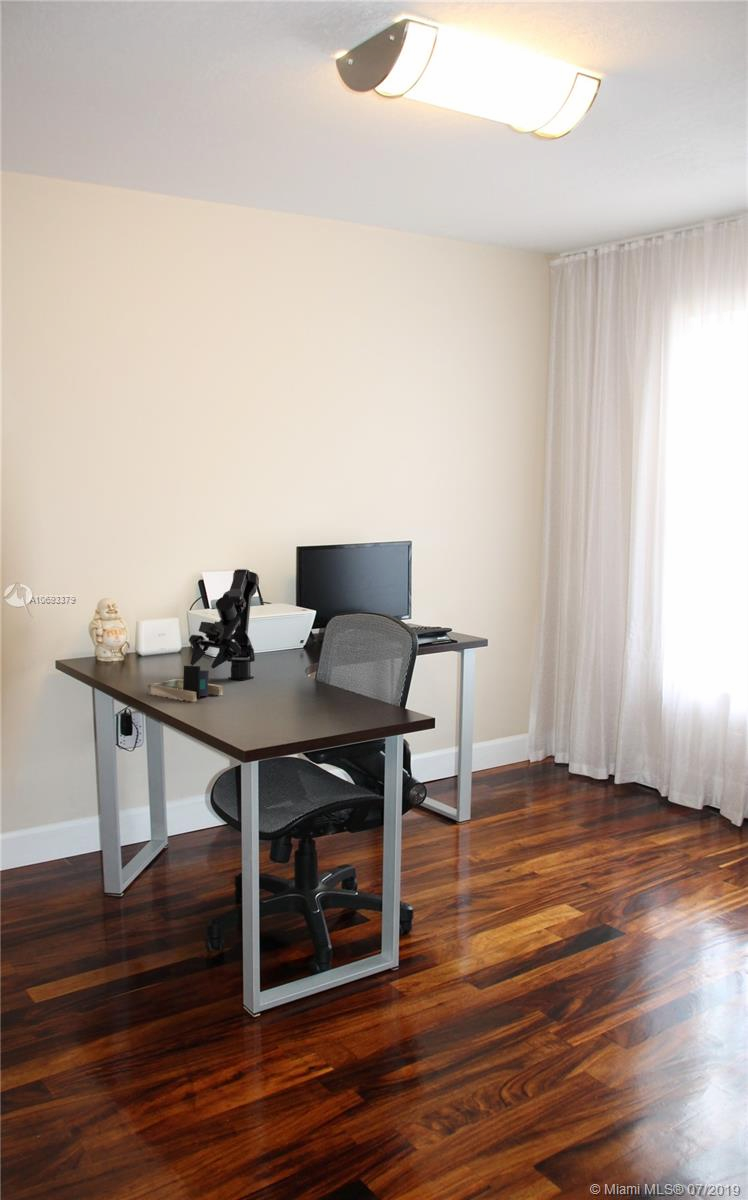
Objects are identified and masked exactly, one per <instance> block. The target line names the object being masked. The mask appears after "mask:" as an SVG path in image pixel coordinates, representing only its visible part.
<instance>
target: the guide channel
mask: <svg viewBox="0 0 748 1200" xmlns="http://www.w3.org/2000/svg"><path fill="white" fill-rule="evenodd" d="M146 688H147V695H150V694H152V695H151V696H155V695H157V697H161V696H162V698H166V697H168V698H167V699H172V698H173V699H174V700H177V699H179V701H183V700H186V701H185V702H188V701H191V702H190V703H195V702H194V701H196V702H197V699H196V692H193V691H188V690H182V689H183V678H182V679H181V678H174V679H170V680H165V681H160V682H156V683H155V682H154V683H150V684H147V687H146ZM177 688H178V689H177ZM223 688H224V687H223V685H219V684H212V683H208V695H211V694H213V696H216V695H218V696H217V697H221V696H223ZM220 695H221V696H220ZM173 699H172V700H173Z"/></svg>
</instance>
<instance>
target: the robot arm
mask: <svg viewBox="0 0 748 1200" xmlns="http://www.w3.org/2000/svg"><path fill="white" fill-rule="evenodd" d="M232 573H233V574H232V582H231V585H230V588H229V590H228V591H225V592H224V593H223V596H222V597H219V599H217V601H216V602H215V607H216V611H217V614H218V617H219V619H220V620H219V621H214V622H208V621H201V622H200V624H199V628H198V632H199V633H203V634H205V635H204V636H205V638H204V636H203V635H200V634H191V636H190V637H189V638H188V642H189V643H190V645H191V646H192V654H191V657H190V666H195V664H196V663H197V662H199V661H200V659H202V657H204V656H205V655H206V652H207V651H208V649H210V648H214V649H218V653H217V655H216V656H215V658H214V659H213V661H212V664H211V665H210V666H211V668H212V669H216V668H217V667H219V666H220V665H223V663H225V662H231V663H230V664H231V665H230V676H228V677H227V678H228V680H236V681H241V680H242V681H246V680H250V678H251V679H254V678H255V676H253V675H251V663H252V662H255V661H256V657H255V656H256V654H255V649H254V647H253V645H252V642H251V639H250V637H249V635H248V633H249V623H250V616H251V615H250V613H251V604H252V598H253V596H254V595H256V593H257V589H258V586H259V584H260V577H259V575H258V573H255V572H253V571H251V570H249V569H246V568H244V569H243V568H242V569H241V568H238V569H237V568H236V569H234V570H233V572H232ZM207 639H208V640H207Z"/></svg>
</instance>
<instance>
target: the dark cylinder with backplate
mask: <svg viewBox="0 0 748 1200" xmlns="http://www.w3.org/2000/svg"><path fill="white" fill-rule="evenodd" d="M209 675H210V671H209V670H202V669H201V666H200V665H183V678H182V679H183V690H188V691H193V692H196V700H200V697H208V696H209V694H208V684H209Z"/></svg>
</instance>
